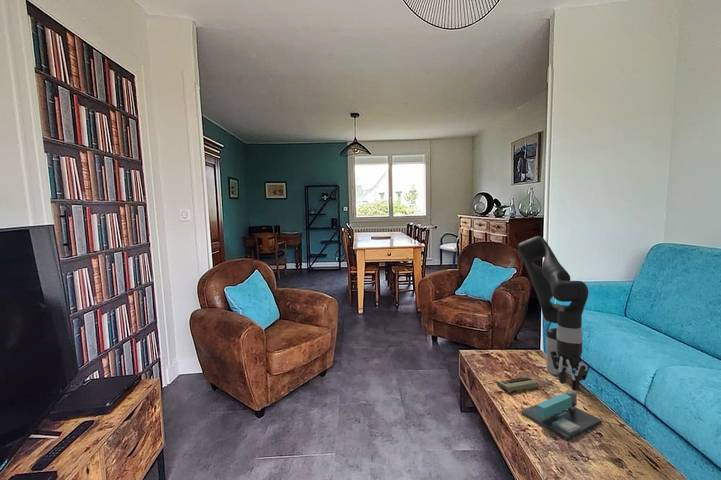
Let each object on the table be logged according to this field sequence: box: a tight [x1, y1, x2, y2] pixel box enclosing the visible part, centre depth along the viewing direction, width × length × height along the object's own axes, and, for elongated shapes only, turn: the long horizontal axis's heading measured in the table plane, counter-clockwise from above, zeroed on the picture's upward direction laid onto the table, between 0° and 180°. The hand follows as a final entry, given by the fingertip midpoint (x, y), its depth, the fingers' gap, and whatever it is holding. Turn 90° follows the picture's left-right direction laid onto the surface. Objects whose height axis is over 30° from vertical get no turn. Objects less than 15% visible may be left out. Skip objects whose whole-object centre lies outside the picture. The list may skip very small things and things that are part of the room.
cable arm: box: [535, 389, 578, 419], centre depth 127 cm, size 20×4×4 cm, turn 116°
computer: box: [496, 376, 540, 394], centre depth 151 cm, size 16×8×3 cm, turn 103°
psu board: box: [520, 404, 603, 442], centre depth 126 cm, size 20×18×3 cm
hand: (568, 386), depth 116 cm, fingers open, 4 cm apart
